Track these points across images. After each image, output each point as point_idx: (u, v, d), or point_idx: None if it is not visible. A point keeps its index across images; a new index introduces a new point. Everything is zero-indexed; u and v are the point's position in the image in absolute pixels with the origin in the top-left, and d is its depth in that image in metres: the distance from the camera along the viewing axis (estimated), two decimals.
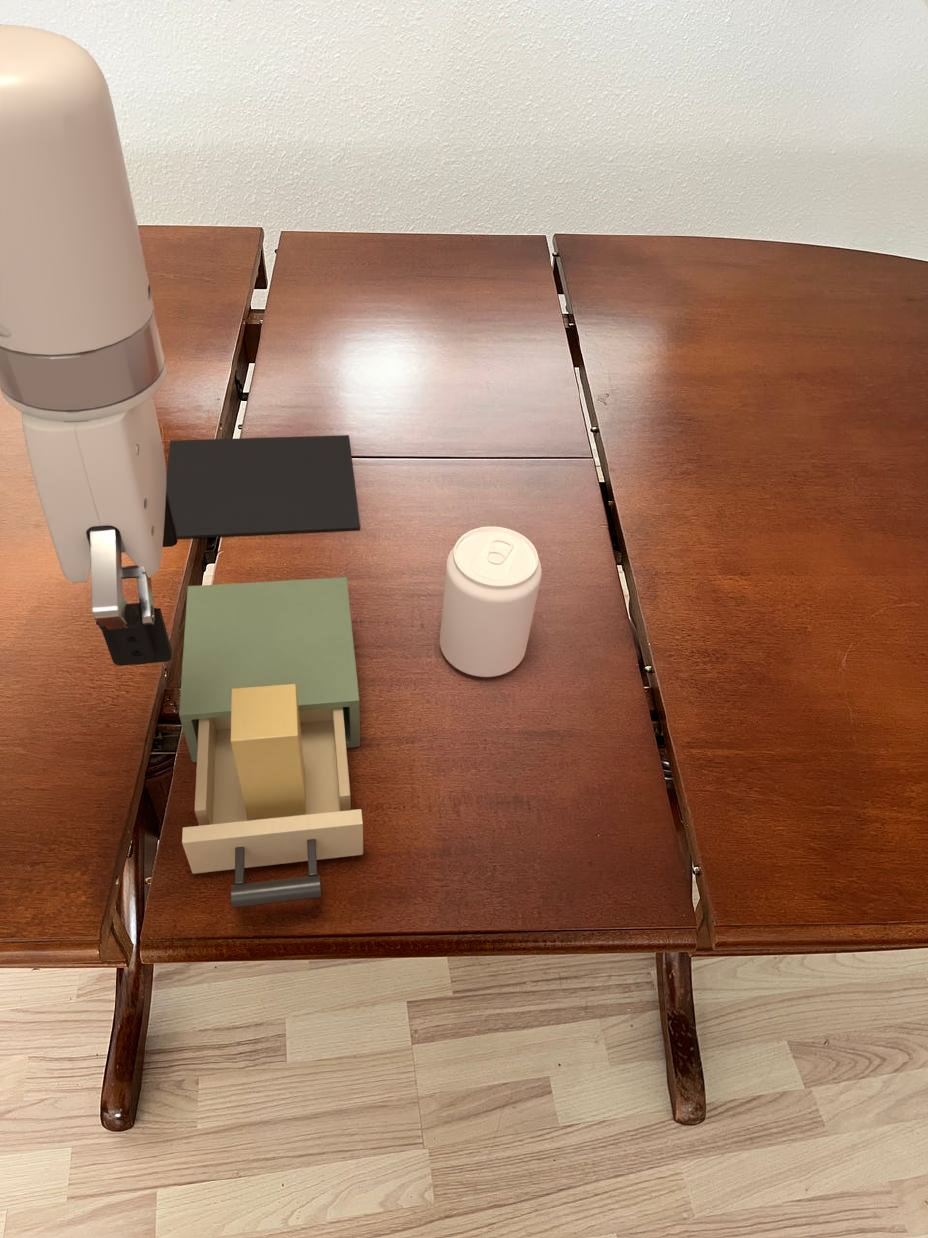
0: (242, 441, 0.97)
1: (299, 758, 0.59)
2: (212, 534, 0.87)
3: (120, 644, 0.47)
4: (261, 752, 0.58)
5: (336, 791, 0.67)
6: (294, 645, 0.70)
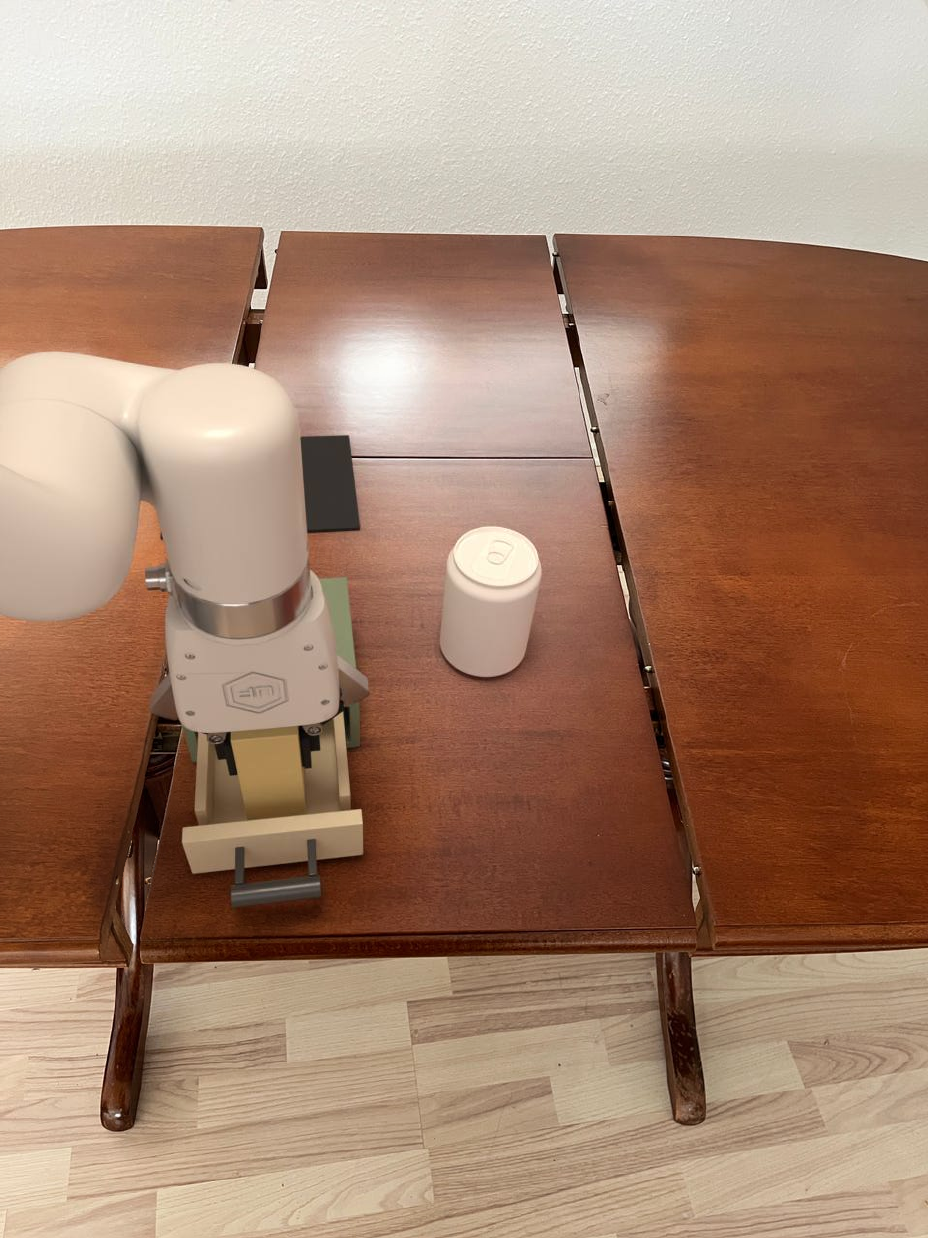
0: None
1: (299, 758, 0.59)
2: None
3: (319, 738, 0.61)
4: (261, 752, 0.58)
5: (336, 791, 0.67)
6: None
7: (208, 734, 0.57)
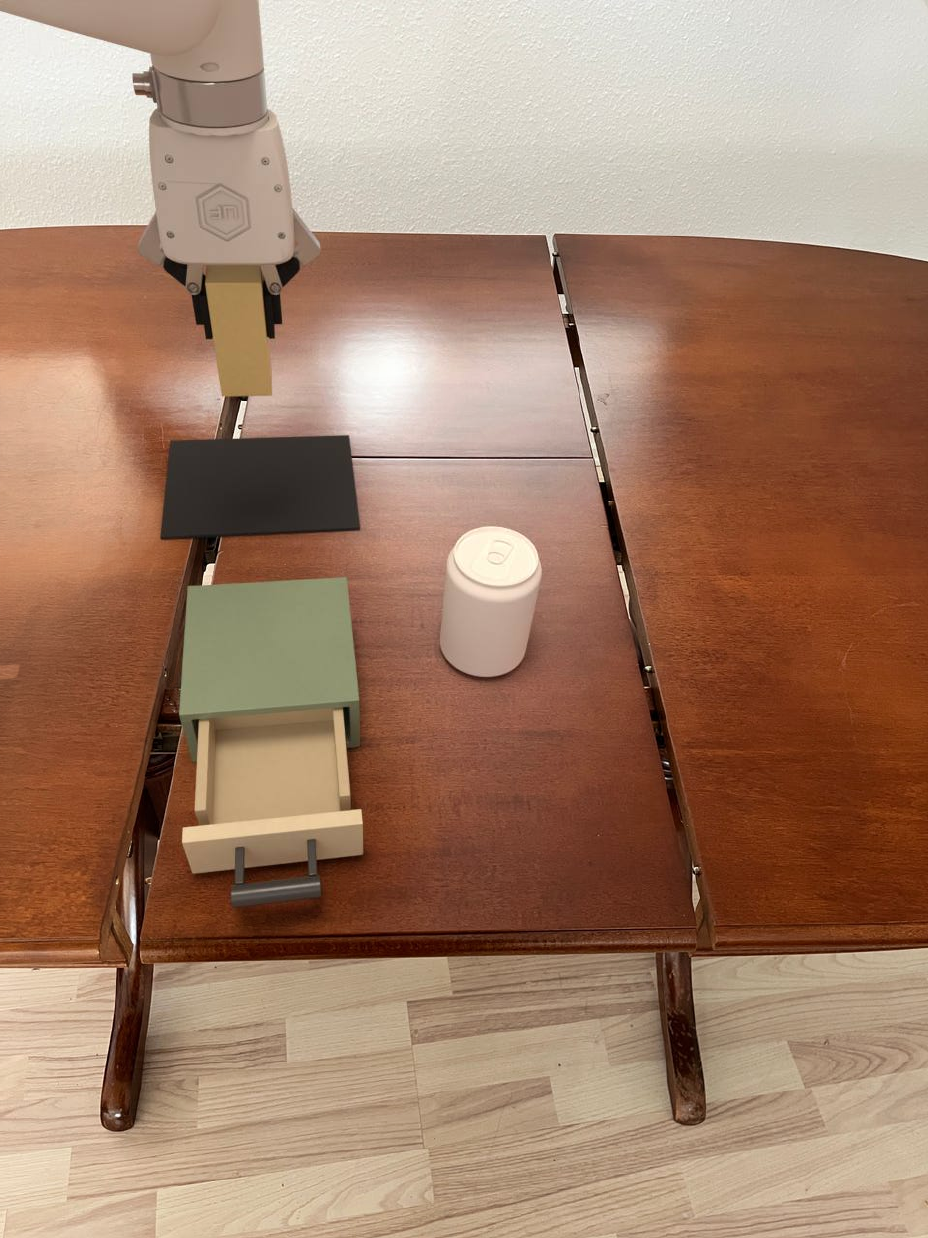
0: (242, 441, 0.97)
1: (263, 315, 0.71)
2: (212, 534, 0.87)
3: (280, 306, 0.72)
4: (231, 302, 0.70)
5: (336, 791, 0.67)
6: (294, 645, 0.70)
7: (186, 280, 0.69)
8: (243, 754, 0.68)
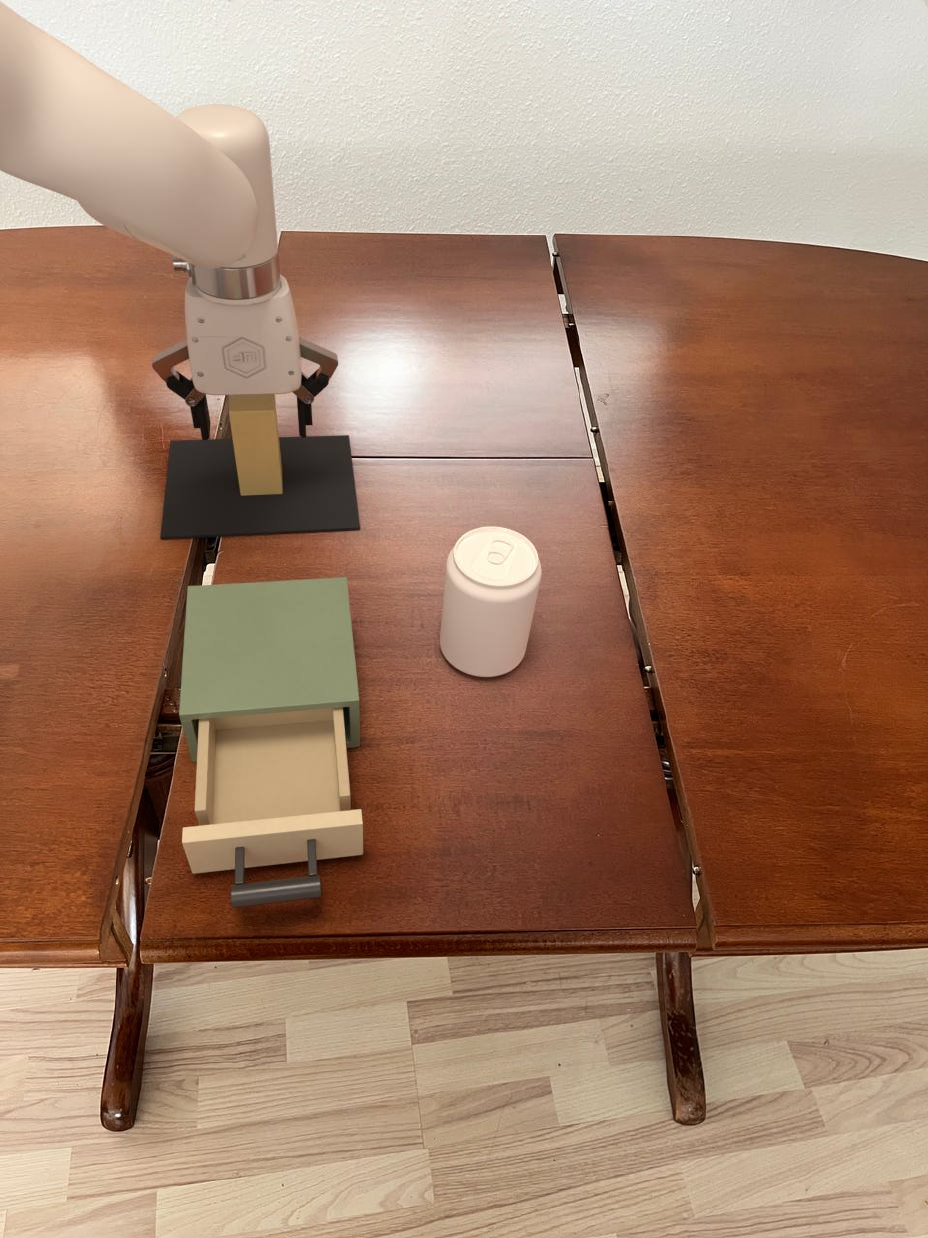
0: None
1: (276, 434, 0.86)
2: (212, 534, 0.87)
3: (311, 411, 0.86)
4: (249, 425, 0.85)
5: (336, 791, 0.67)
6: (294, 645, 0.70)
7: (189, 394, 0.82)
8: (243, 754, 0.68)
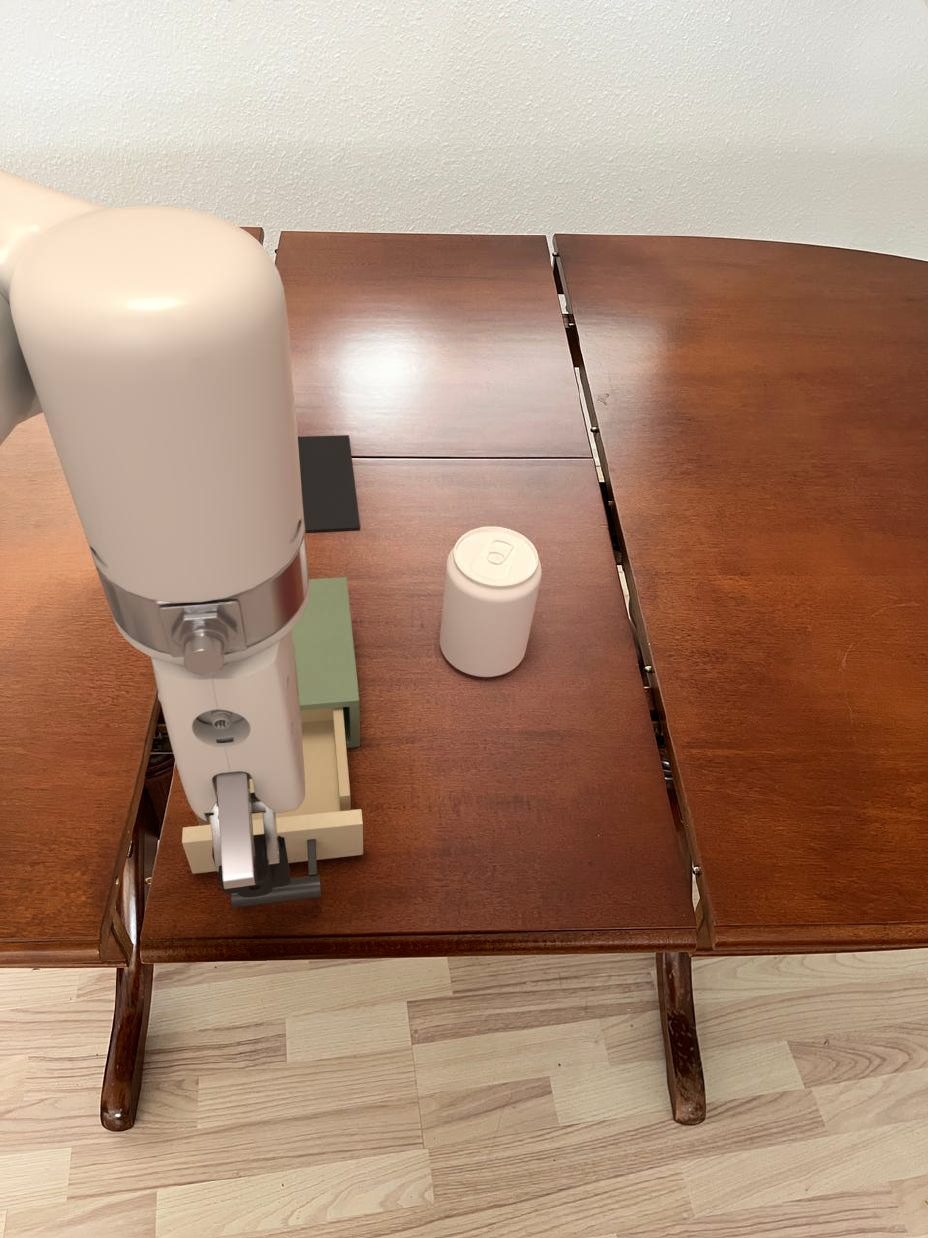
0: None
1: None
2: None
3: None
4: None
5: (336, 791, 0.67)
6: (294, 645, 0.70)
7: (276, 843, 0.38)
8: None
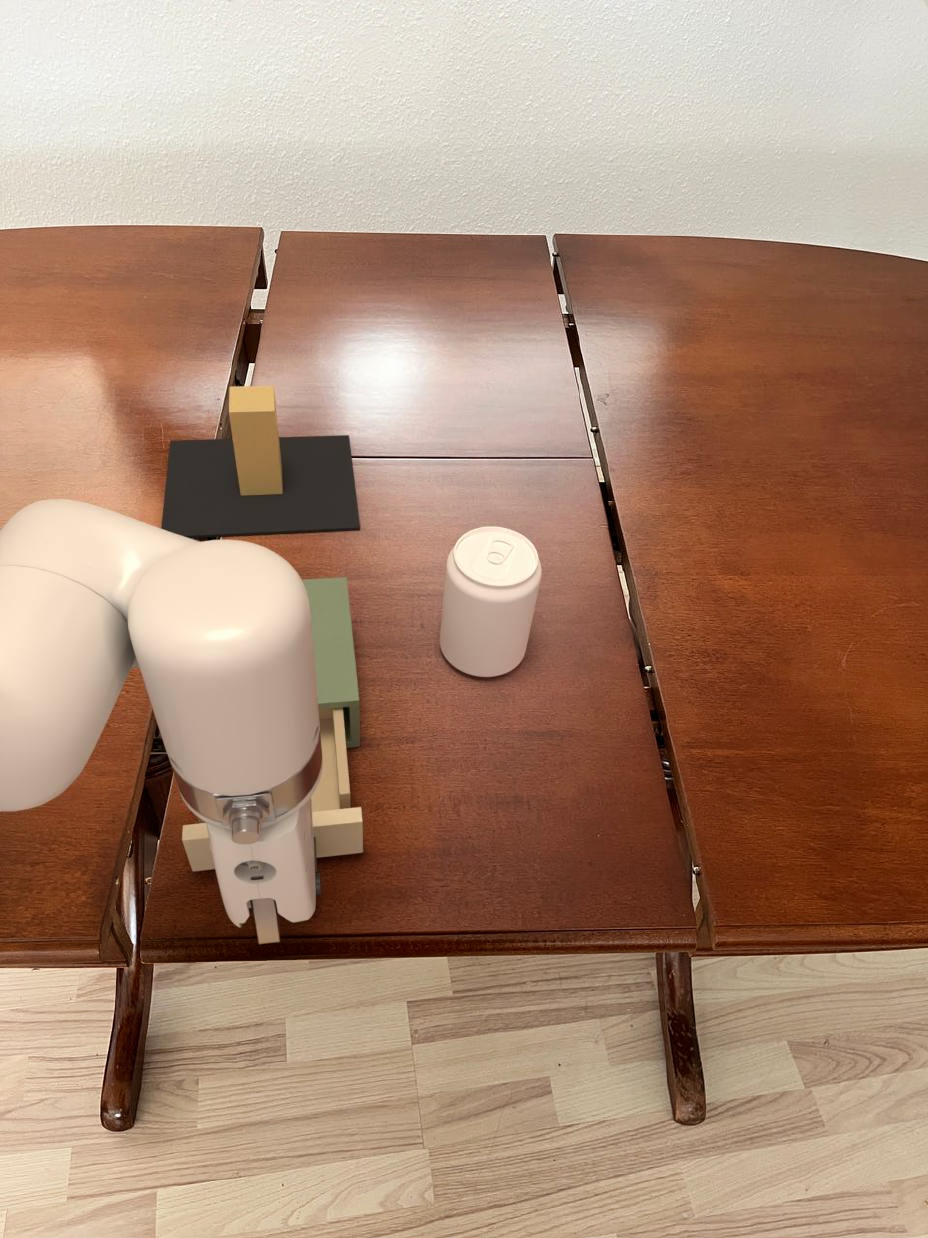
0: None
1: (276, 434, 0.86)
2: (212, 534, 0.87)
3: None
4: (249, 425, 0.85)
5: (336, 789, 0.67)
6: None
7: None
8: None
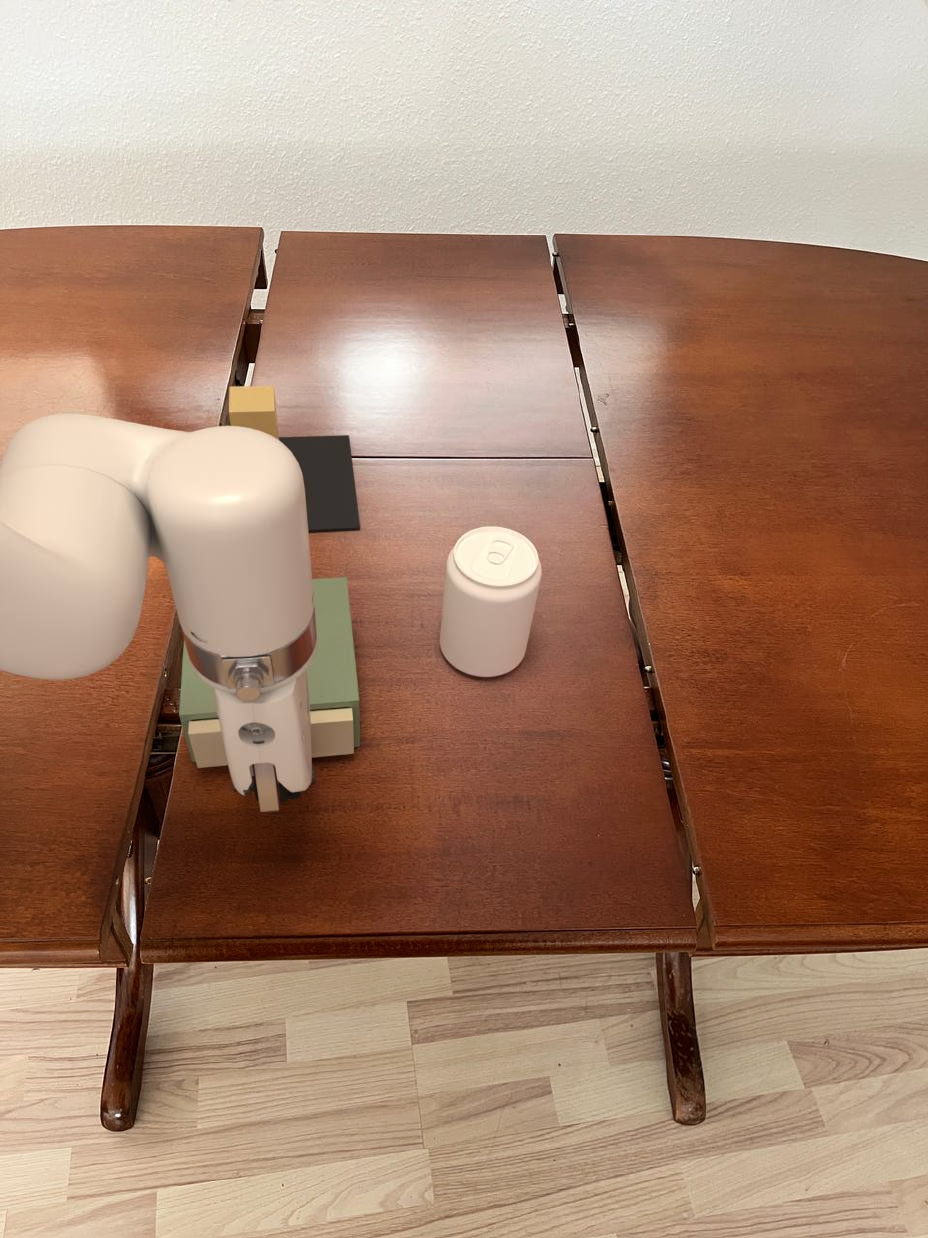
0: None
1: (276, 434, 0.86)
2: None
3: None
4: (249, 425, 0.85)
5: None
6: None
7: None
8: None
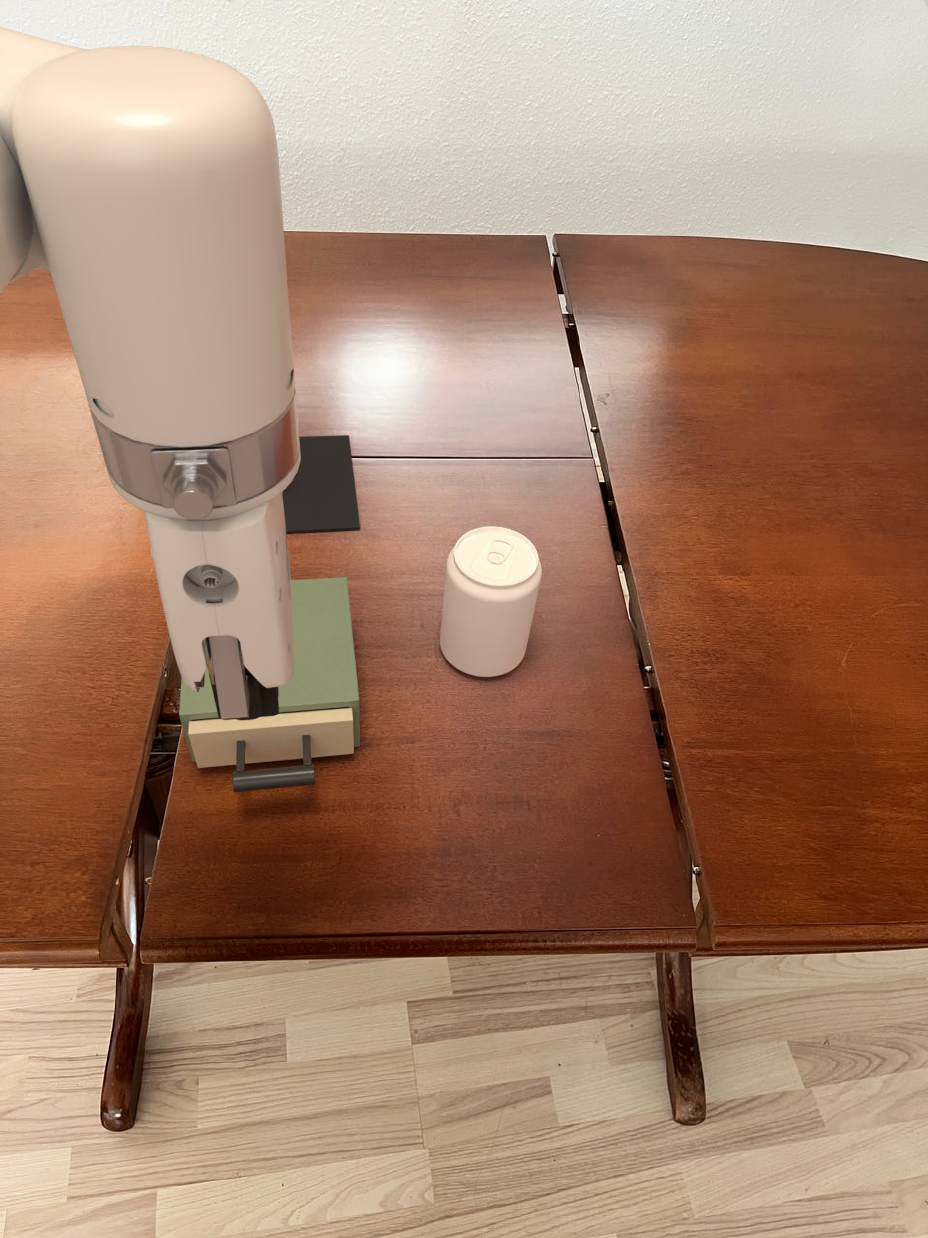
0: None
1: None
2: None
3: None
4: None
5: None
6: (294, 645, 0.70)
7: None
8: None
